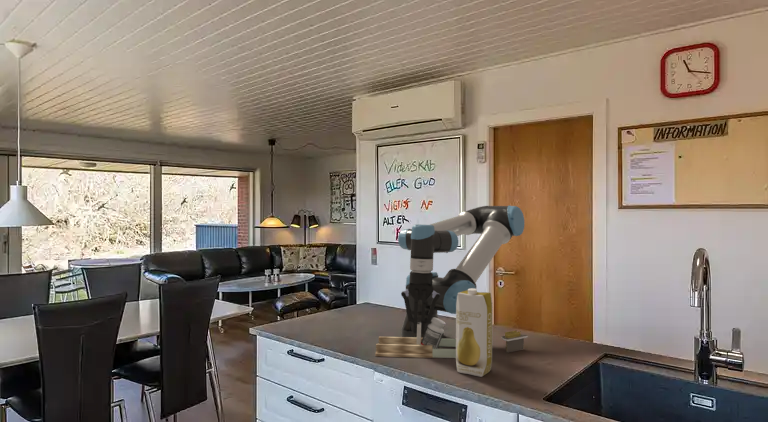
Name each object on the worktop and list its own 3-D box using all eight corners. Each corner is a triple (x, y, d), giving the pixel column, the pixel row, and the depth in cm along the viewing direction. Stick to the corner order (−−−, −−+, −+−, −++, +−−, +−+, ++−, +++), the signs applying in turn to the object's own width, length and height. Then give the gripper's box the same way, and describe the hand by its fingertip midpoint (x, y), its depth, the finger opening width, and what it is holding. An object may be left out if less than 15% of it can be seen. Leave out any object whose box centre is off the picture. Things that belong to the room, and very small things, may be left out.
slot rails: (431, 344, 170) (431, 336, 170) (432, 357, 155) (432, 348, 155) (379, 343, 172) (379, 334, 172) (375, 356, 156) (375, 346, 156)
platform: (480, 351, 164) (480, 331, 164) (518, 343, 174) (518, 324, 174) (508, 360, 154) (508, 339, 154) (545, 351, 164) (546, 332, 164)
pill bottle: (426, 344, 166) (437, 317, 166) (439, 352, 162) (450, 324, 162) (416, 343, 162) (427, 316, 161) (429, 352, 158) (441, 323, 158)
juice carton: (452, 372, 141) (453, 288, 141) (464, 365, 148) (465, 285, 148) (483, 379, 136) (484, 291, 136) (494, 371, 142) (495, 288, 142)
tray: (473, 346, 168) (473, 339, 168) (477, 358, 155) (477, 350, 155) (431, 345, 170) (431, 337, 170) (432, 357, 156) (432, 349, 156)
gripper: (401, 271, 160) (398, 345, 159) (441, 273, 158) (438, 347, 158) (402, 269, 167) (399, 339, 167) (440, 271, 166) (438, 341, 166)
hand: (418, 343), depth 163 cm, fingers closed
